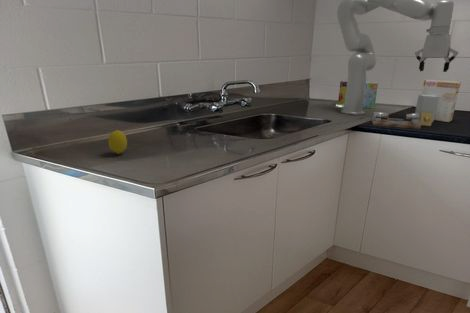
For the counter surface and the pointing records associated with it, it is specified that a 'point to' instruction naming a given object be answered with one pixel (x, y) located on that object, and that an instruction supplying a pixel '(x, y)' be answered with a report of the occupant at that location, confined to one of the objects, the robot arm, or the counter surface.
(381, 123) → the bench board
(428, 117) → the coupler
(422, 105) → the supplement box
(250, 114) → the counter surface
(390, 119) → the shaft stubs
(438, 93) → the coffeecake box
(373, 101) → the snack box
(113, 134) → the lemon
